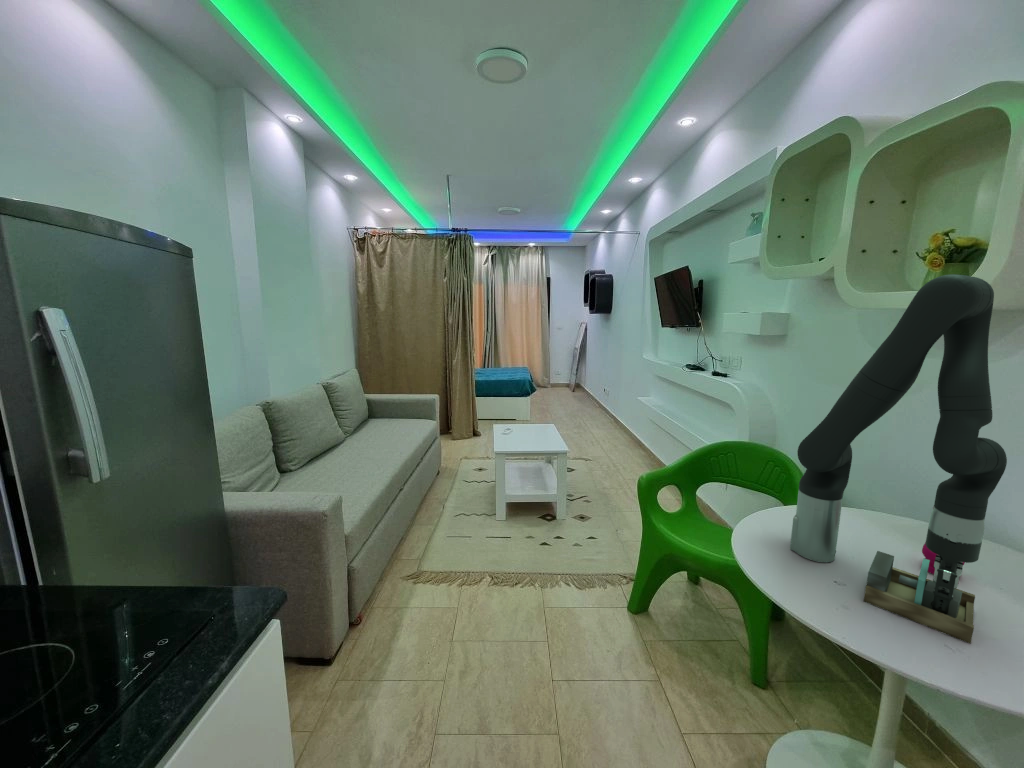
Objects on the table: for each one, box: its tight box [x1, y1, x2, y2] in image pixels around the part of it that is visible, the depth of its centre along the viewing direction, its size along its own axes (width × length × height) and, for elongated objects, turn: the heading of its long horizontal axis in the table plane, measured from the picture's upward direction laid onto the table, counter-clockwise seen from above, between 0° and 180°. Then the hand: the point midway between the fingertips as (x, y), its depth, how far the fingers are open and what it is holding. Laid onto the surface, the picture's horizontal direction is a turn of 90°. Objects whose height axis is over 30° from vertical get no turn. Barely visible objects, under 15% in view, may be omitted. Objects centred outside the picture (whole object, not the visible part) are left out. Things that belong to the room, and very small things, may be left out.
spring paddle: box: [899, 557, 930, 605], centre depth 89 cm, size 4×11×8 cm, turn 131°
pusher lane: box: [863, 550, 976, 644], centre depth 88 cm, size 16×14×7 cm
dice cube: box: [921, 579, 962, 618], centre depth 86 cm, size 5×5×5 cm
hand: (941, 601), depth 86 cm, fingers open, 8 cm apart
